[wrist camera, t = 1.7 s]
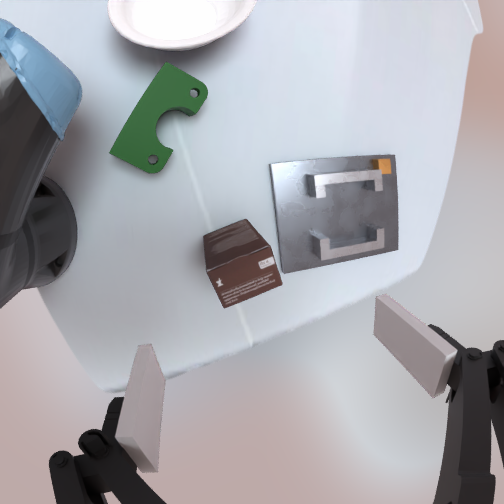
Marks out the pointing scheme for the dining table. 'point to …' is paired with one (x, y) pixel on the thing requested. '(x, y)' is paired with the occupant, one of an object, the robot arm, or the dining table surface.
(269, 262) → the box
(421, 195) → the dining table surface
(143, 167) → the clamp
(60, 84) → the robot arm
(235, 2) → the bowl
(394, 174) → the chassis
